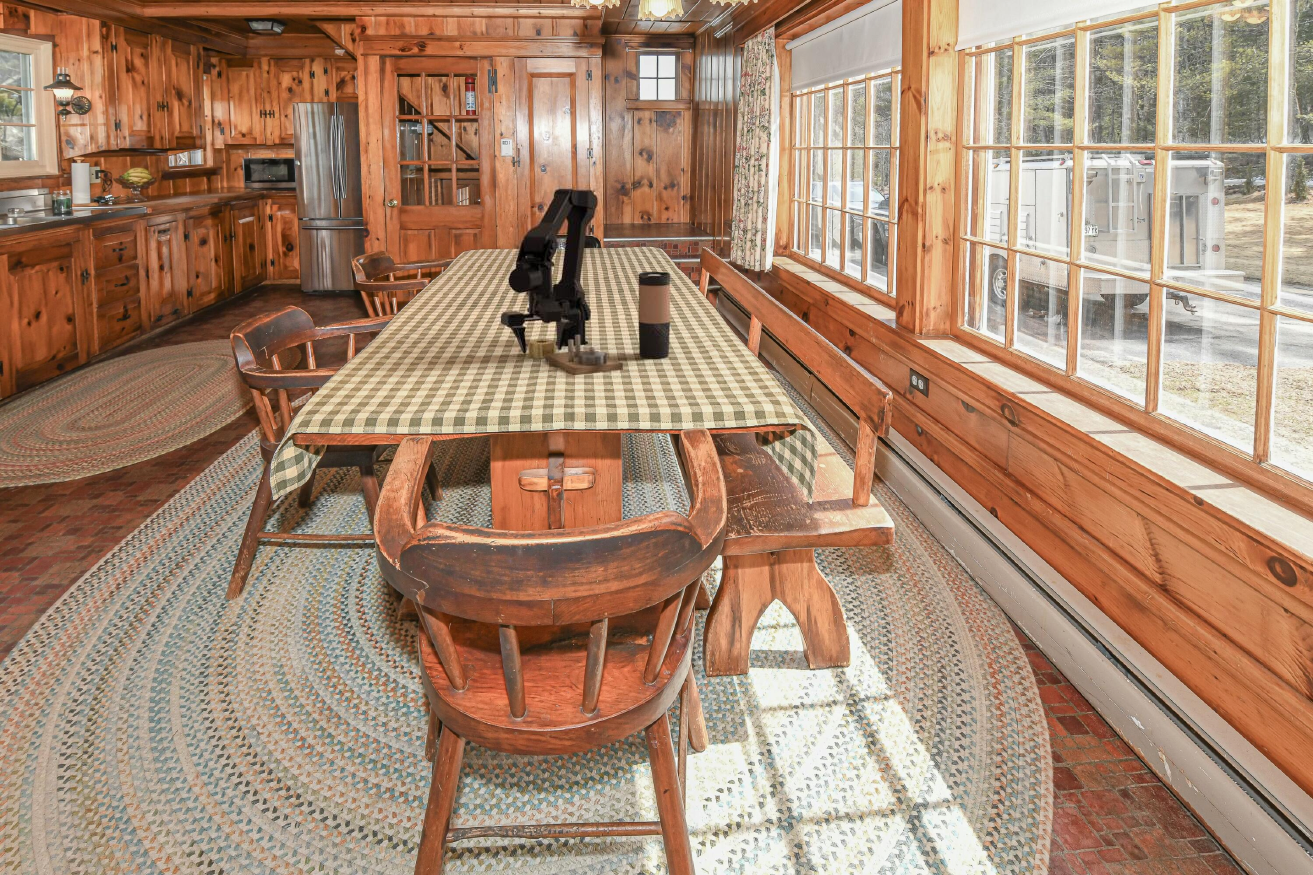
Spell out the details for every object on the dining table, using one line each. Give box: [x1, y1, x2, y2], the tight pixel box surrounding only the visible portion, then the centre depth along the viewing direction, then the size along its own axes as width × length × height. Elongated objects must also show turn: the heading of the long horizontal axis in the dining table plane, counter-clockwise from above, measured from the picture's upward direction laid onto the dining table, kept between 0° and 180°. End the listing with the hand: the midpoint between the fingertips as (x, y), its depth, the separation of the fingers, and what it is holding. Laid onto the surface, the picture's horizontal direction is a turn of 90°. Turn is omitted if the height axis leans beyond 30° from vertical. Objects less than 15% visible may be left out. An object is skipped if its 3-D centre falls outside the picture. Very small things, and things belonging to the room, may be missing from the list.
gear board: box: [544, 335, 624, 376], centre depth 223 cm, size 12×17×6 cm
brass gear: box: [527, 338, 557, 360], centre depth 233 cm, size 7×7×4 cm
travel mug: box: [637, 271, 671, 360], centre depth 231 cm, size 8×8×20 cm
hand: (542, 351), depth 233 cm, fingers open, 9 cm apart
